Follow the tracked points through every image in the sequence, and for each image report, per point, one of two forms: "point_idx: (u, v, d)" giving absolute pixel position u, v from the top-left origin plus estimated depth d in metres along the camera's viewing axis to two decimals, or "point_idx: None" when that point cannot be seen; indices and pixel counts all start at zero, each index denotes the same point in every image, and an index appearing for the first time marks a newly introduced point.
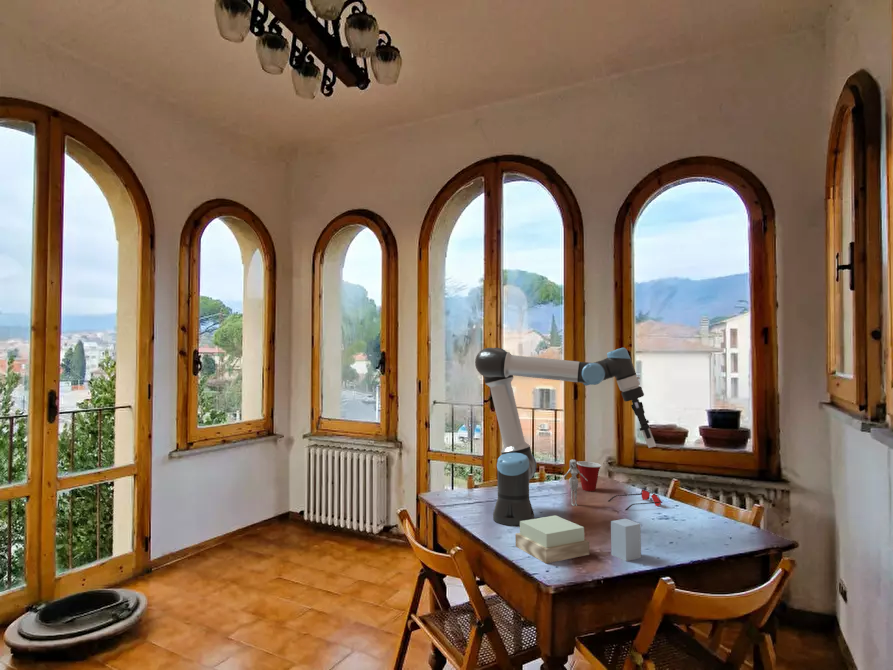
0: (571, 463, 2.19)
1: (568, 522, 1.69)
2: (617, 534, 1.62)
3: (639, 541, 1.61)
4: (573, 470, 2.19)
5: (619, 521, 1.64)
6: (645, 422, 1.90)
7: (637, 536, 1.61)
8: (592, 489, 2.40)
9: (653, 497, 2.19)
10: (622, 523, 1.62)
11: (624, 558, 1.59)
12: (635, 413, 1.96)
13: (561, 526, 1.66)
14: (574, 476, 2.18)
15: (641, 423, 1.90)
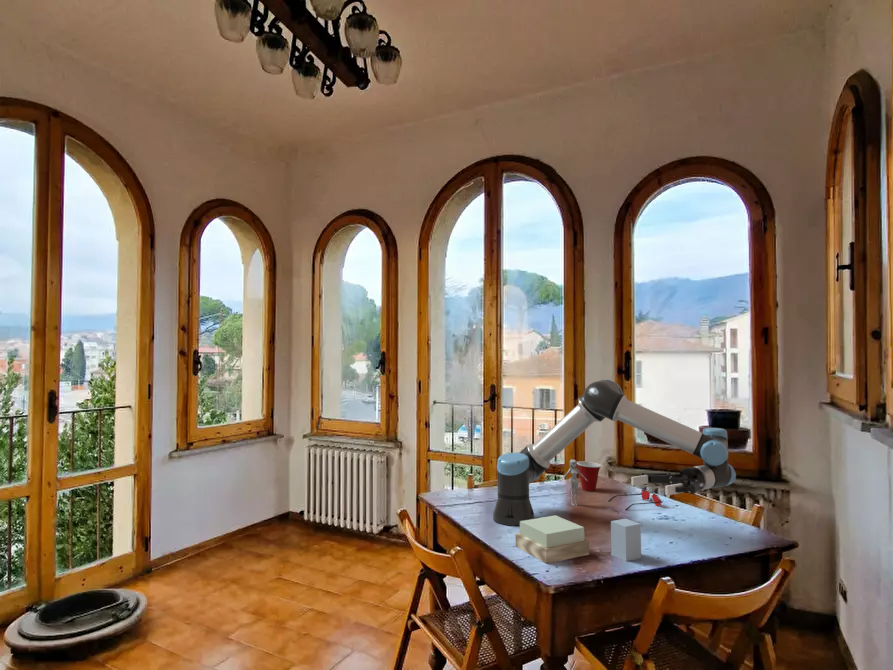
0: (571, 463, 2.19)
1: (568, 522, 1.69)
2: (617, 534, 1.62)
3: (639, 541, 1.61)
4: (573, 470, 2.19)
5: (619, 521, 1.64)
6: (695, 491, 1.63)
7: (637, 536, 1.61)
8: (592, 489, 2.40)
9: (653, 497, 2.19)
10: (622, 523, 1.62)
11: (624, 558, 1.59)
12: (687, 479, 1.69)
13: (561, 526, 1.66)
14: (574, 476, 2.18)
15: (695, 486, 1.63)
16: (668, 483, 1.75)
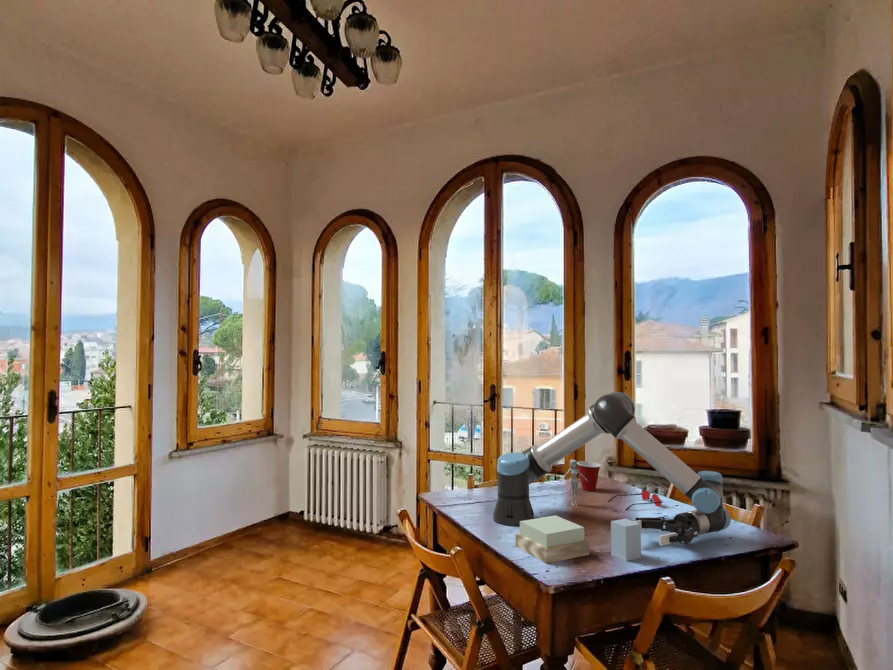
0: (571, 463, 2.19)
1: (568, 522, 1.69)
2: (617, 534, 1.62)
3: (639, 541, 1.61)
4: (573, 470, 2.19)
5: (619, 521, 1.64)
6: (689, 541, 1.60)
7: (637, 536, 1.61)
8: (592, 489, 2.40)
9: (653, 497, 2.19)
10: (622, 523, 1.62)
11: (624, 558, 1.59)
12: (681, 526, 1.67)
13: (561, 526, 1.66)
14: (574, 476, 2.18)
15: (689, 536, 1.61)
16: (662, 529, 1.73)
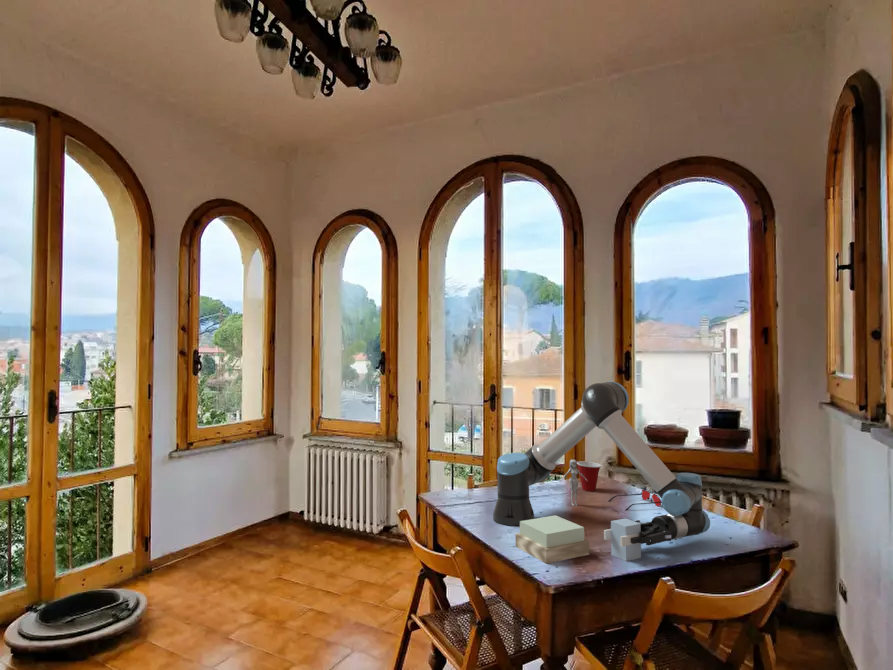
0: (571, 463, 2.19)
1: (568, 522, 1.69)
2: (617, 534, 1.62)
3: None
4: (573, 470, 2.19)
5: (619, 521, 1.64)
6: (652, 542, 1.58)
7: None
8: (592, 489, 2.40)
9: (653, 497, 2.18)
10: (622, 523, 1.62)
11: (624, 558, 1.59)
12: (653, 529, 1.64)
13: (561, 526, 1.66)
14: (574, 476, 2.18)
15: (652, 537, 1.58)
16: None
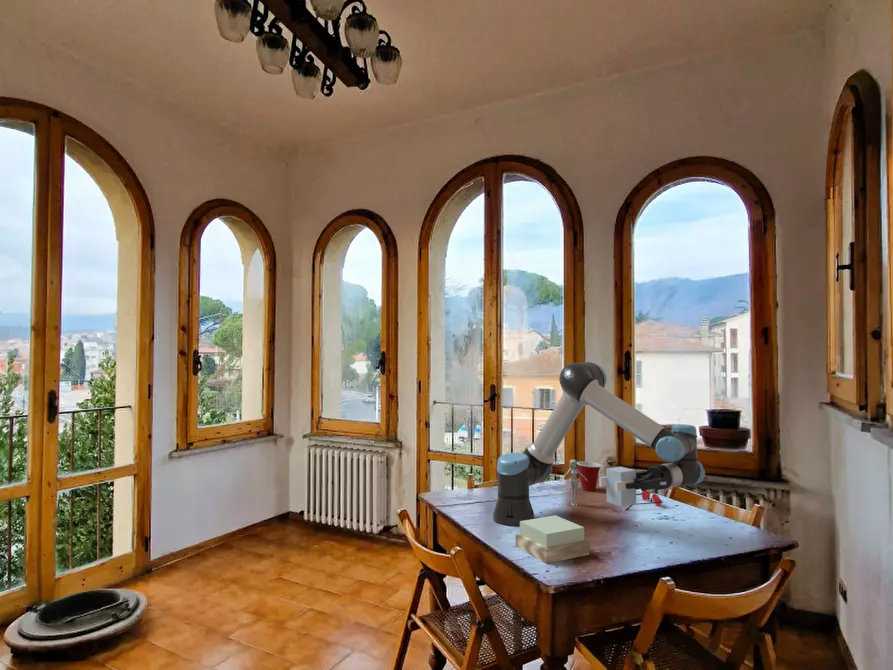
0: (571, 463, 2.19)
1: (568, 522, 1.69)
2: (612, 481, 1.62)
3: None
4: (573, 470, 2.19)
5: (614, 468, 1.64)
6: (647, 488, 1.59)
7: None
8: (592, 489, 2.40)
9: (653, 497, 2.18)
10: (617, 469, 1.63)
11: (619, 504, 1.60)
12: (648, 476, 1.64)
13: (561, 526, 1.66)
14: (574, 476, 2.18)
15: (647, 483, 1.59)
16: None
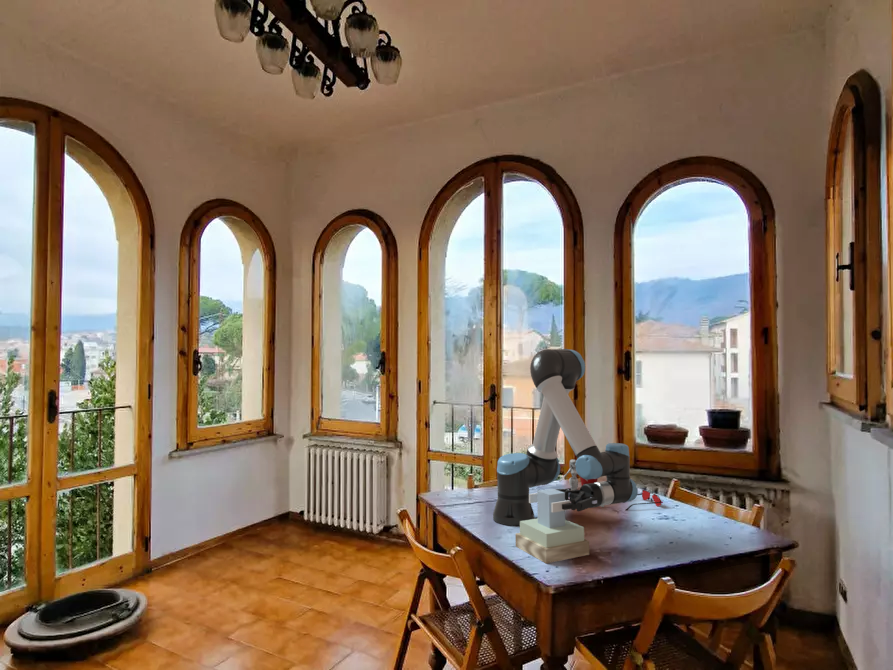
0: (571, 463, 2.19)
1: (568, 522, 1.69)
2: (542, 503, 1.67)
3: None
4: (573, 470, 2.19)
5: (545, 490, 1.69)
6: (582, 508, 1.62)
7: None
8: None
9: (653, 497, 2.18)
10: (547, 492, 1.68)
11: (547, 526, 1.64)
12: (581, 496, 1.69)
13: (561, 526, 1.66)
14: (574, 476, 2.18)
15: (582, 503, 1.63)
16: (567, 500, 1.74)
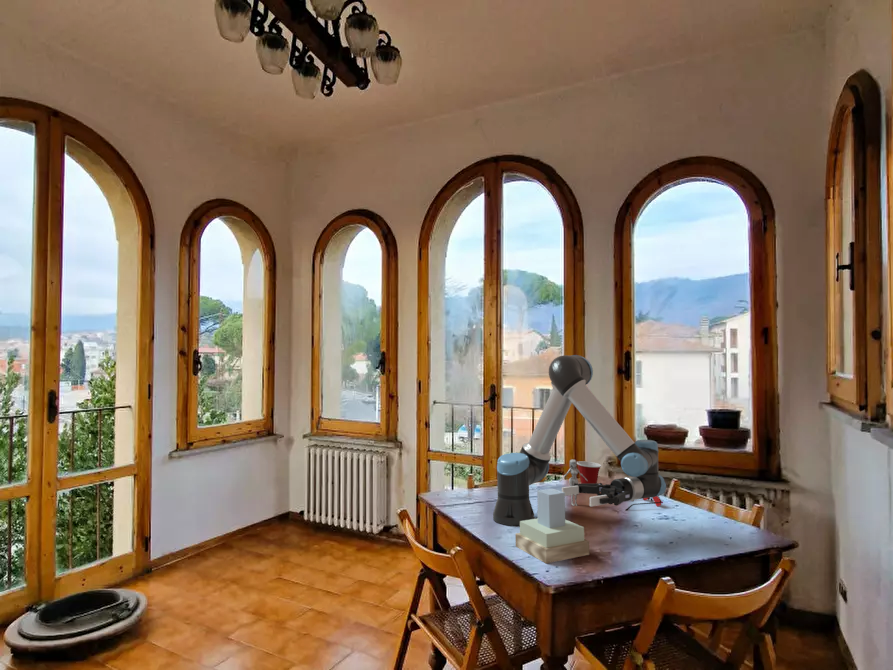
0: (571, 463, 2.19)
1: (568, 522, 1.69)
2: (542, 503, 1.67)
3: (563, 509, 1.66)
4: (573, 470, 2.19)
5: (545, 490, 1.69)
6: (619, 502, 1.68)
7: (561, 504, 1.66)
8: None
9: (654, 497, 2.18)
10: (547, 492, 1.68)
11: (547, 526, 1.64)
12: (614, 490, 1.74)
13: (561, 526, 1.66)
14: (574, 476, 2.18)
15: (619, 498, 1.68)
16: (598, 494, 1.80)
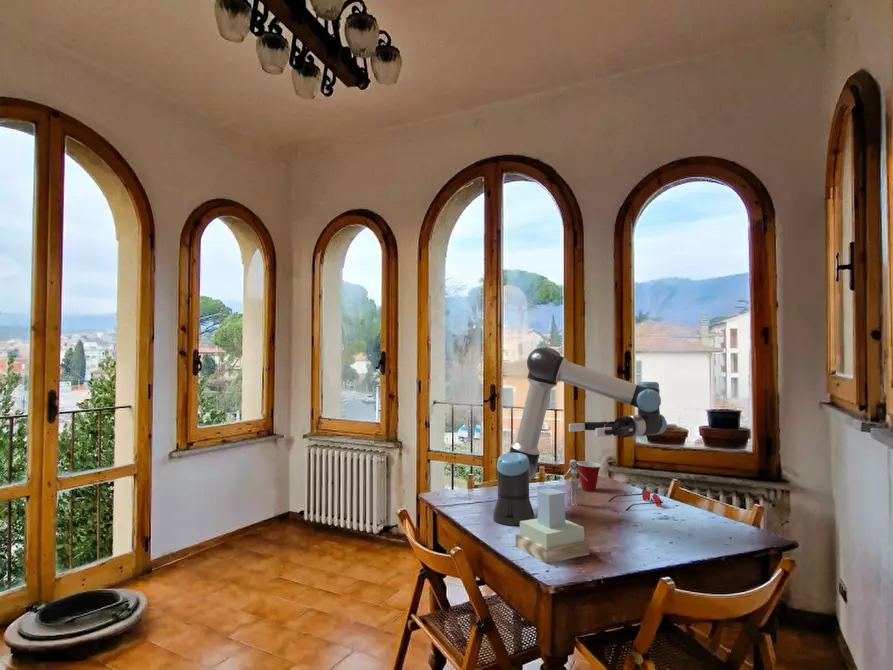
0: (571, 463, 2.19)
1: (568, 522, 1.69)
2: (542, 503, 1.67)
3: (563, 509, 1.66)
4: (573, 470, 2.19)
5: (545, 490, 1.69)
6: (623, 434, 1.79)
7: (561, 504, 1.66)
8: (592, 489, 2.40)
9: (654, 497, 2.18)
10: (547, 492, 1.68)
11: (547, 526, 1.64)
12: (618, 425, 1.85)
13: (561, 526, 1.66)
14: (574, 476, 2.18)
15: (623, 429, 1.79)
16: None
